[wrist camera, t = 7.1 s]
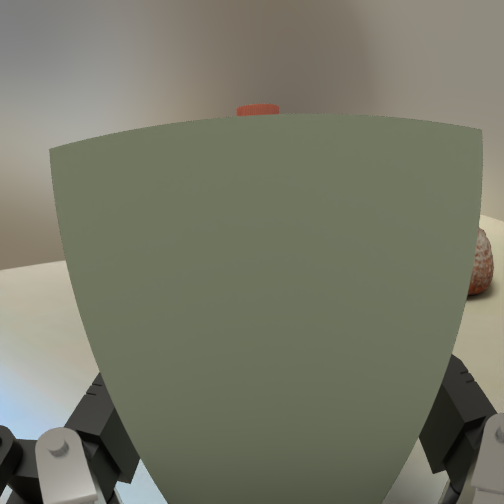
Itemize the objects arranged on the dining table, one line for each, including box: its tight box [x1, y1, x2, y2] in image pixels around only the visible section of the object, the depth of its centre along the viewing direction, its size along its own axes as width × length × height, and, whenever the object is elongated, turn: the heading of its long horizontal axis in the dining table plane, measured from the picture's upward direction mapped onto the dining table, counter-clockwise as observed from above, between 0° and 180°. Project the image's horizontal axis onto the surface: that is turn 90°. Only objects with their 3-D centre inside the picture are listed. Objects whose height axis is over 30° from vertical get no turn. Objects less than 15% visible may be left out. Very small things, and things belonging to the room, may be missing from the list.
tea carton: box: [49, 114, 483, 504], centre depth 9 cm, size 4×8×15 cm, turn 177°
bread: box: [467, 228, 494, 295], centre depth 34 cm, size 16×20×10 cm
